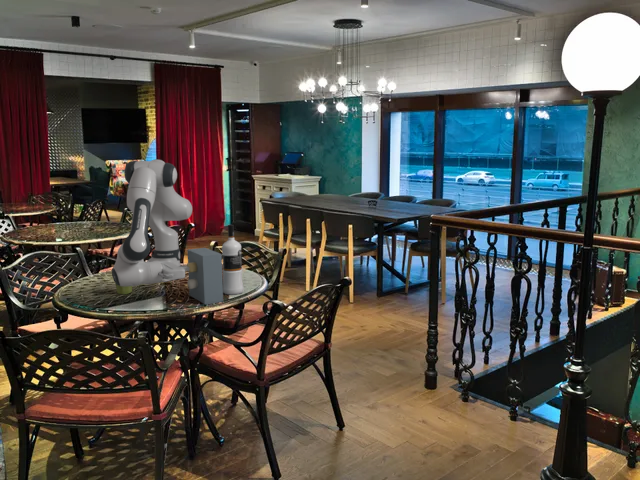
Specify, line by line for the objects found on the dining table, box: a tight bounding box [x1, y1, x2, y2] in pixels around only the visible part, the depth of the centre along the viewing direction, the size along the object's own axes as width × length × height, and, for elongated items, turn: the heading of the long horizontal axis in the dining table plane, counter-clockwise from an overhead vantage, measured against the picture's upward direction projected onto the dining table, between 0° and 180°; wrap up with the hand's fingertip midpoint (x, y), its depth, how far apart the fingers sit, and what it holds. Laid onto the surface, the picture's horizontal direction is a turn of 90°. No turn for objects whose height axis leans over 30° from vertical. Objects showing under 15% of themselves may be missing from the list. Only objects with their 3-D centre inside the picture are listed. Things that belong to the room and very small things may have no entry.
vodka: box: [221, 224, 245, 296], centre depth 254 cm, size 9×9×30 cm
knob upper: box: [186, 262, 197, 273], centre depth 244 cm, size 14×4×4 cm, turn 122°
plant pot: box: [114, 282, 133, 295], centre depth 256 cm, size 9×9×9 cm
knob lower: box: [187, 278, 198, 290], centre depth 245 cm, size 14×4×4 cm, turn 122°
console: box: [186, 247, 224, 305], centre depth 245 cm, size 8×18×20 cm, turn 32°
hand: (188, 268), depth 241 cm, fingers closed, pressing on knob upper
